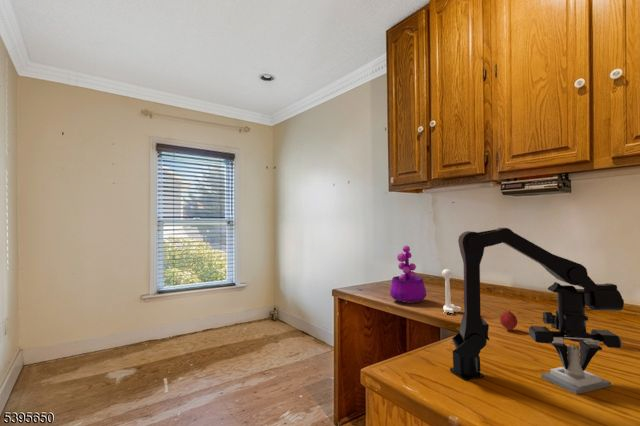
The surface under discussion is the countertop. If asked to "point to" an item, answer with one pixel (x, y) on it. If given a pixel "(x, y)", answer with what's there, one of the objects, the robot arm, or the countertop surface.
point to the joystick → (448, 293)
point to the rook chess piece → (574, 363)
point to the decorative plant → (407, 281)
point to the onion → (508, 320)
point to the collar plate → (575, 381)
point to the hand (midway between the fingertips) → (574, 369)
